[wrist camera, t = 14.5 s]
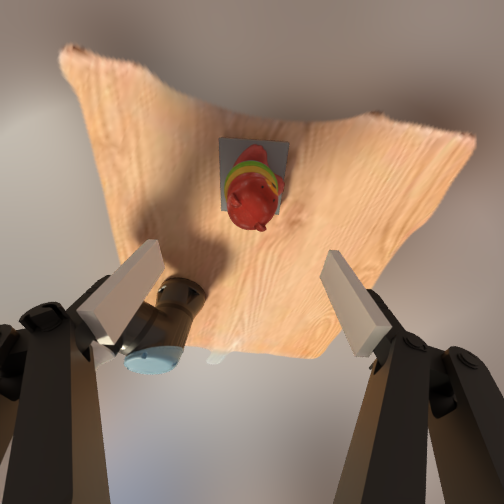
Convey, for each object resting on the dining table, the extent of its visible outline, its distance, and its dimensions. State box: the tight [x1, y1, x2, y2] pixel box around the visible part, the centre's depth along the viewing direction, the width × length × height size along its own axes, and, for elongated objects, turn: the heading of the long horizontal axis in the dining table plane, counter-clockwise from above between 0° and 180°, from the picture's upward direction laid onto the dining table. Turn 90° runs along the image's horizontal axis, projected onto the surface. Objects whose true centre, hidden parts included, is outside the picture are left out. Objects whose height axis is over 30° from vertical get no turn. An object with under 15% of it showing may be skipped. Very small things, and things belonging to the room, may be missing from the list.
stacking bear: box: [224, 144, 285, 232], centre depth 30 cm, size 11×10×18 cm
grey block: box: [219, 137, 289, 215], centre depth 39 cm, size 13×14×4 cm
